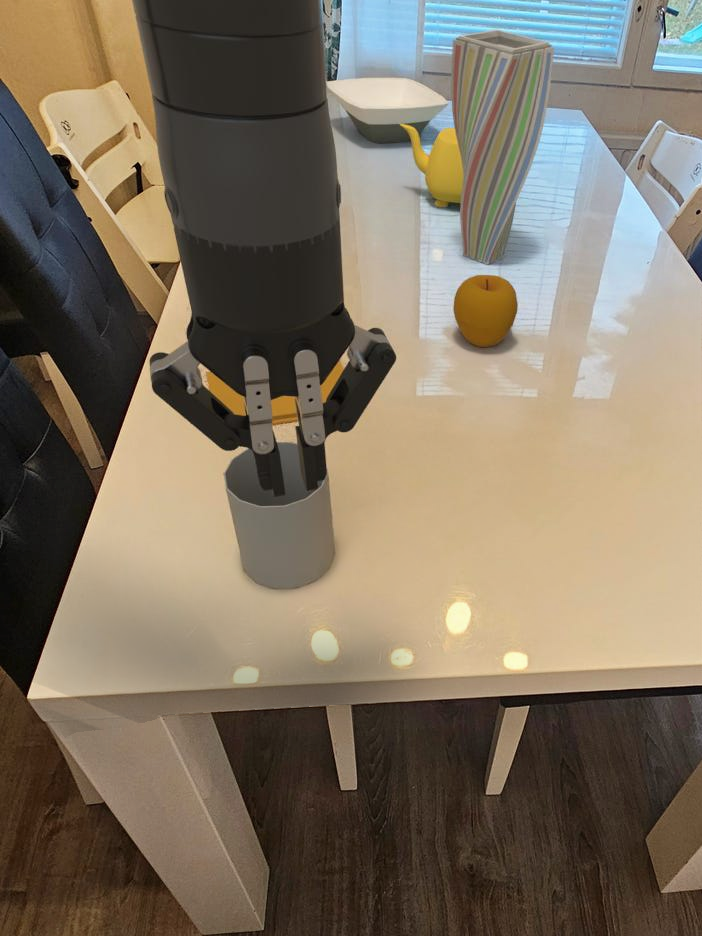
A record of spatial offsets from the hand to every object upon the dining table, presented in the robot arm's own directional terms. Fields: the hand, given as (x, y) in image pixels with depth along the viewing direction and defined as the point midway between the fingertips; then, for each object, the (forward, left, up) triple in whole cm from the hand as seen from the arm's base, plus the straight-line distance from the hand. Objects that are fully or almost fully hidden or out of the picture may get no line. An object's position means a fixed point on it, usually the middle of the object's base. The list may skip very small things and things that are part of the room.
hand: (293, 484), depth 44 cm
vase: (+42, +69, -19) cm, 83 cm away
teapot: (+45, +93, -19) cm, 105 cm away
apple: (+32, +44, -19) cm, 58 cm away
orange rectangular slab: (+4, +38, -19) cm, 43 cm away
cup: (0, +12, -19) cm, 23 cm away
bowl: (+43, +131, -19) cm, 139 cm away
